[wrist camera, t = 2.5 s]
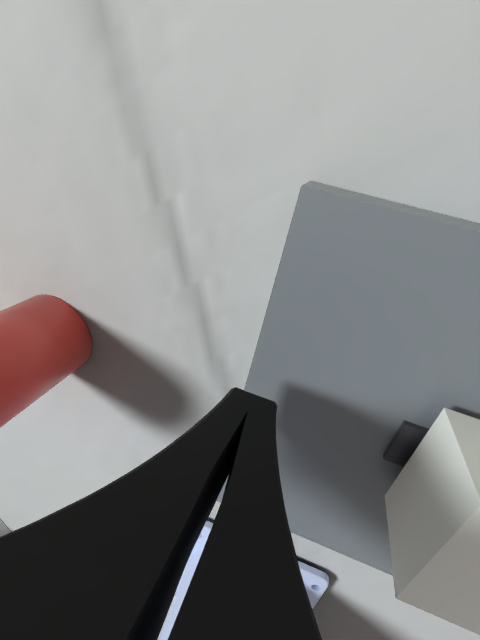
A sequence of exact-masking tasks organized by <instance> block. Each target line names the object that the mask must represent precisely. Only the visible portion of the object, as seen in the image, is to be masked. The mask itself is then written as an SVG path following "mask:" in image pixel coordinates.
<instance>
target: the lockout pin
mask: <svg viewBox="0 0 480 640" xmlns="http://www.w3.org/2000/svg"><path fill="white" fill-rule="evenodd" d="M91 352H92V339H91V335H90V332H89V329H88V327H87V325H86V323H85V321H84V320H83V318H82V317H81V316H80V315H79V313H78V312H77V311H76V310H75V309H74V308H73V307H72V306H70V305H69V304H68V303H66V302H65V301H63V300H61V299H59V298H57V297H54V296H51V295H37V296H35V297H32V298H30V299H28V300H25V301H23V302H21V303H18V304H16V305H14V306H11V307H9V308H7V309H4V310H2V311H0V427H2V426H3V425H4V424H6V423H7V422H8V421H9V420H11V419H12V418H13V417H15V416H16V415H17V414H19V413H20V412H21V411H23V410H24V409H25V408H27V407H28V406H29V405H30V404H32V403H33V402H34V401H36V400H37V399H38V398H40V397H41V396H42V395H44V394H45V393H46V392H47V391H49V390H50V389H51V388H53V387H54V386H55V385H57V384H58V383H59V382H61V381H62V380H63V379H64V378H66V377H67V376H68V375H70V374H71V373H72V372H74V371H75V370H76V369H78V368H79V367H80V366H81V365H83V364H84V363H85V362H86V361H87V360H88V359H89V357H90V355H91Z"/></svg>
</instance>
